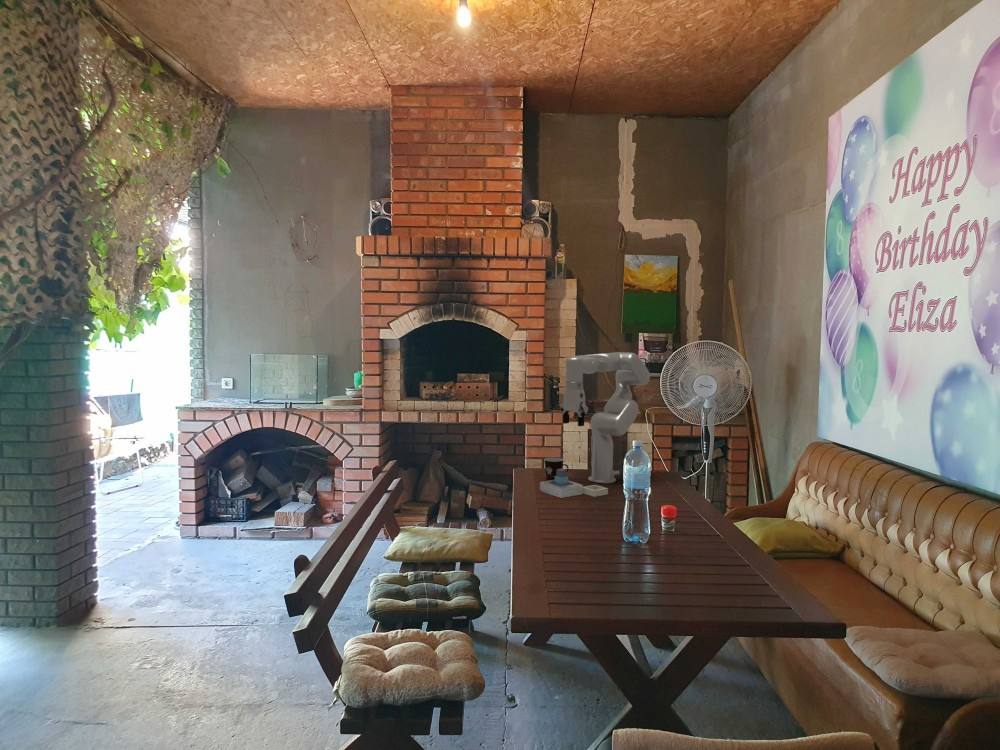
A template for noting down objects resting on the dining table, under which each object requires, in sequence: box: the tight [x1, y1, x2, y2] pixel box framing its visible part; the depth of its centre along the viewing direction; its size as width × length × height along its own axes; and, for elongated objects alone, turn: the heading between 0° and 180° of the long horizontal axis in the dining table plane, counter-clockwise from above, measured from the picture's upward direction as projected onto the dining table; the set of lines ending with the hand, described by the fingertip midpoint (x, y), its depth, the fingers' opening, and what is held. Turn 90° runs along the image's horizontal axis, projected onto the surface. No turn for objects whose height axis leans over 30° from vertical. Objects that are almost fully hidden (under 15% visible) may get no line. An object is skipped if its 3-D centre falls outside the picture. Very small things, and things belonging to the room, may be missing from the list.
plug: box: [555, 468, 569, 485], centre depth 273 cm, size 4×4×10 cm
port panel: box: [539, 480, 584, 499], centre depth 273 cm, size 12×14×4 cm
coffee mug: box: [544, 457, 570, 481], centre depth 293 cm, size 12×9×10 cm
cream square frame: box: [582, 484, 609, 498], centre depth 272 cm, size 8×8×2 cm
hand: (573, 424), depth 279 cm, fingers open, 9 cm apart
